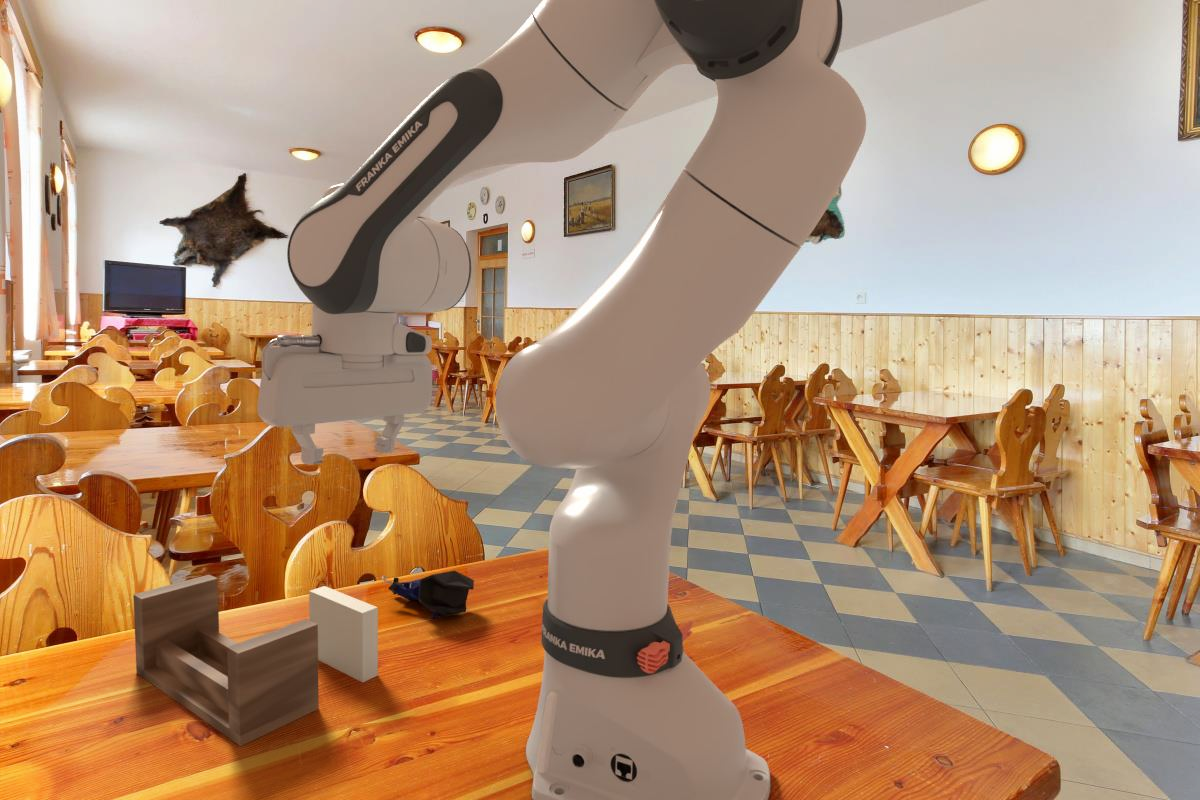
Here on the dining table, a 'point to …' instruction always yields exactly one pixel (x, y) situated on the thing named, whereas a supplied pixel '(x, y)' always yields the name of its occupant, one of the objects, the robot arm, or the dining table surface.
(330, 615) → the door panel
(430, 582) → the toy
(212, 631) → the wooden rack
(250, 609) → the dining table surface
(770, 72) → the robot arm
